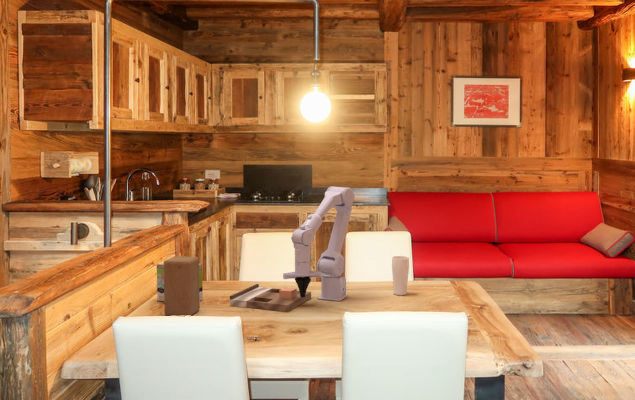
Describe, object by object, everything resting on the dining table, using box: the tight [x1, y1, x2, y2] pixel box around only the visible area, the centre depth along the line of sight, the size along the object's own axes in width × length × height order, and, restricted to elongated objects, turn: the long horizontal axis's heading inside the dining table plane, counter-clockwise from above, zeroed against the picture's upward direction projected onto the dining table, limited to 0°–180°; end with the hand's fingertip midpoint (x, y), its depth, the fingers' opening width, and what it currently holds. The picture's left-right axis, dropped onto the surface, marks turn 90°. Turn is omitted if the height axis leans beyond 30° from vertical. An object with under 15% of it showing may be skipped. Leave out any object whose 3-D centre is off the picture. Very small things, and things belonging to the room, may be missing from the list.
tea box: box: [156, 262, 204, 302], centre depth 251 cm, size 15×10×15 cm, turn 62°
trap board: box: [229, 283, 312, 313], centre depth 249 cm, size 24×22×4 cm
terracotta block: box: [279, 287, 298, 299], centre depth 246 cm, size 5×5×3 cm
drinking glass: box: [391, 255, 410, 296], centre depth 260 cm, size 7×7×15 cm
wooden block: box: [162, 255, 201, 316], centre depth 233 cm, size 10×10×20 cm
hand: (302, 296), depth 244 cm, fingers closed
